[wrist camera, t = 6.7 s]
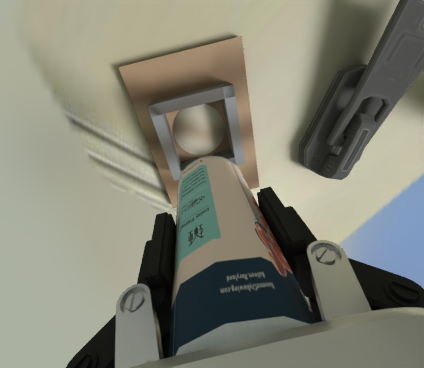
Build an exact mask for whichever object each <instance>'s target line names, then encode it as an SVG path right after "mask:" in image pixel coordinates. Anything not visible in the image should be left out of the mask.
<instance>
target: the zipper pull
mask: <svg viewBox="0 0 424 368" xmlns="http://www.w3.org/2000/svg"><path fill="white" fill-rule="evenodd" d="M423 69H424V1H423V0H400V1H399V3H398V5H397V7H396V9H395V11H394V13H393V15H392V17H391V19H390V21H389V23H388V25H387V27H386V29H385V31H384V33H383V35H382V37H381V39H380V41H379V43H378V45H377V47H376V49H375V51H374V53H373V55H372V57H371V59H370V61H369V63H368V65H356V66H353V67H351V68H348V69H345V70H343V71H340V72H338V73H337V74H336V76H335V78H334V80H333V82H332V84H331V86H330V88H329V90H328V91H327V93H326V95H325V97H324V99H323V101H322V103H321V105H320V107H319V109H318V111H317V113H316V115H315V117H314V119H313V121H312V123H311V124H310V126H309V128H308V130H307V132H306V134H305V136H304V138H303V139H302V141H301V143H300V145H299V162H300V163H301V164H302V165H304V166H305V167H306V168H308V169H309V170H311V171H313V172H315V173H317V174H319V175H321V176H323V177H326V178H331V179H338V180H342V179H344V178H345V177H347V176H348V175H349V173H350V171H351V169H352V168H353V166H354V164H355V163H356V162H357V161H358V160H359V159H360V157H361V155H362V152H363V150H364V148H365V147H366V145H367V144H368V142H369V141H370V140H371V138H372V137H373V136H374V134H375V133H376V131H377V130H378V129H379V127H380V126H381V124H382V123H383V122H384V120H385V119H386V117H387V116H388V115H389V113H390V112H391V111H392V109H393V108H394V106H395V105H396V104H397V102H398V101H399V100H400V98H401V97H402V96H403V95H404V93H405V92H406V91H407V90H408V88H409V87H410V86H411V84H412V83H413V82H414V81H415V79H416V78H417V77H418V76H419V74H420V73H421V72H422V70H423Z"/></svg>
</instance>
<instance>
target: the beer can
mask: <svg viewBox="0 0 424 368" xmlns="http://www.w3.org/2000/svg"><path fill="white" fill-rule="evenodd" d="M313 323H318V321H317V319H316V317H315V316H314V314H313V312H312V310H311V308H310V306H309V304H308V302H307V300H306V298H305V296H304V294H303V292H302V290H301V288H300V286H299V284H298V282H297V280H296V278H295V277H294V275H293V273H292V271H291V269H290V267H289V265H288V263H287V261H286V259H285V257H284V255H283V253H282V251H281V249H280V247H279V245H278V243H277V241H276V239H275V237H274V236H273V234H272V232H271V230H270V228H269V226H268V224H267V222H266V220H265V218H264V216H263V214H262V212H261V210H260V208H259V206H258V204H257V202H256V200H255V198H254V196H253V195H252V193H251V191H250V189H249V187H248V185H247V183H246V181H245V179H244V177H243V175H242V173H241V171H240V169H239V167H238V166H237V165H235V164H234V163H233V162H232V161H230V160H228V159H226V158H223V157H218V156H207V157H202V158H200V159H197V160H195V161H193V162H192V163H191V164H189V165H188V166H187V167H186V168H185V169H184V171H183V172H182V173H181V176H180V178H179V183H178V198H177V216H176V236H175V254H174V273H173V290H172V308H171V326H170V345H169V357H173V356H177V355H181V354H186V353H190V352H194V351H198V350H202V349H206V348H211V347H215V346H219V345H223V344H227V343H232V342H236V341H240V340H244V339H249V338H253V337H257V336H261V335H266V334H270V333H274V332H279V331H283V330H287V329H292V328H296V327H300V326H305V325H309V324H313Z"/></svg>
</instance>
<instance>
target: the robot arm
mask: <svg viewBox="0 0 424 368" xmlns="http://www.w3.org/2000/svg"><path fill="white" fill-rule="evenodd" d="M257 196H258V204H259V208H260V210H261V212H262V214H263V216H264V218H265V220H266V222H267V224H268V226H269V228H270V230H271V232H272V234H273V236H274V237H275V239H276V241H277V243H278V245H279V247H280V249H281V251H282V253H283V255H284V257H285V259H286V261H287V263H288V265H289V267H290V269H291V271H292V273H293V275H294V277H295V278H296V280H297V282H298V284H299V286H300V288H301V290H302V292H303V294H304V296H306V298H307V302H308V304H309V306H310V308H311V310H312V312H313V314H314V316H315V317H316V319H317V321H318V323H313V324H309V325H305V326H300V327H296V328H292V329H287V330H283V331H279V332H274V333H270V334H266V335H261V336H257V337H253V338H249V339H244V340H240V341H236V342H232V343H227V344H223V345H219V346H215V347H211V348H206V349H202V350H198V351H194V352H190V353H186V354H181V355H177V356H173V357H169V345H170V326H171V308H172V290H173V273H174V254H175V236H176V225H175V222H174V220H173V217H172V215H171V214H168V213H167V212H165V213H161V214H157V215H156V219H155V225H154V230H153V235H152V240H150V241H147V242H146V245H145V249H144V254H143V258H142V264H141V268H140V272H139V277H138V282H137V284H135V285H133V286H131V287H129V288H128V289H127V290H125V291H124V292H123V293H122V295H121V296H120V297H119V299H118V301H117V305H116V315H115V316H114V317H113V318H112V319H111V320H110V321H109V322H108V323H107V324H106V325H105V326H104V327H103V328H102V329H101V330H100V331H99V332H98V333H97V334H96V335H95V336H94V337H93V338H92V339H91V340H90V341H89V342H88V343H87V344H86V345H85V346H84V347H83V348H82V349H81V350H80V351H79V352H78V353H77V354H76V355H75V356H74V357H73V359H72V360H71V361H70V362H69V363H68V365H67V367H66V368H424V289H423V288H422V287H421V286H419V285H418V284H417V283H415V282H414V281H412V280H410V279H407V278H405V277H402V276H399V275H396V274H393V273H391V272H388V271H385V270H382V269H379V268H376V267H373V266H370V265H367V264H364V263H361V262H358V261H355V260H352V259H349V258H347V256H346V254H345V252H344V250H343V249H342V248H341V247H340V246H339V245H337V244H335V243H333V242H330V241H326V240H319V241H318V240H317V239H316V238H315V236H314V235H313V234H312V232H311V231H310V230H309V228H308V227H307V226H306V224H305V223H304V222H303V220H302V219H301V218H300V216H299V215H298V214H297V212H296V211H295V210H294V208H293V207H291V206H289V207H284V205H283V204H282V203H281V201H280V200H279V198H278V197H277V195H276V194H275V192H274V191H273V189H272V188H271V187H268V188H264V189H260V192H258V193H257Z"/></svg>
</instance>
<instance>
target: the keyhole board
mask: <svg viewBox="0 0 424 368" xmlns="http://www.w3.org/2000/svg"><path fill="white" fill-rule="evenodd" d="M118 68H119V70H120V73H121V75H122V78H123V81H124V83H125V86H126V88H127V91H128V93H129V96H130V98H131V101H132V104H133V106H134V109H135V111H136V114H137V116H138V119H139V122H140V124H141V127H142V129H143V132H144V134H145V137H146V139H147V142H148V145H149V147H150V150H151V152H152V155H153V157H154V160H155V163H156V165H157V168H158V170H159V173H160V175H161V178H162V180H163V183H164V186H165V188H166V191H167V193H168V196H169V198H170V201H171V203H172V206H173V208H176V207H177V198H178V183H179V178H180V176H181V173H182V172H183V171H184V169H185V168H186V167H187V166H188V165H189V164H191V163H192V162H193V161H195V160H197V159H200V158H202V157H207V156H218V157H223V158H226V159H228V160H230V161H232V162H233V163H234V164H235V165H237V166H238V167H239V169H240V171H241V173H242V175H243V177H244V179H245V181H246V183H247V185H248V187H249V189H253V188H258V187H259V180H258V171H257V163H256V155H255V146H254V138H253V129H252V121H251V112H250V104H249V95H248V87H247V78H246V70H245V62H244V53H243V45H242V36H240V37H236V38H232V39H228V40H224V41H220V42H216V43H212V44H208V45H204V46H200V47H197V48H193V49H189V50H185V51H181V52H177V53H173V54H169V55H165V56H161V57H157V58H153V59H149V60H145V61H141V62H137V63H133V64H129V65H126V66H122V67H118Z"/></svg>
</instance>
